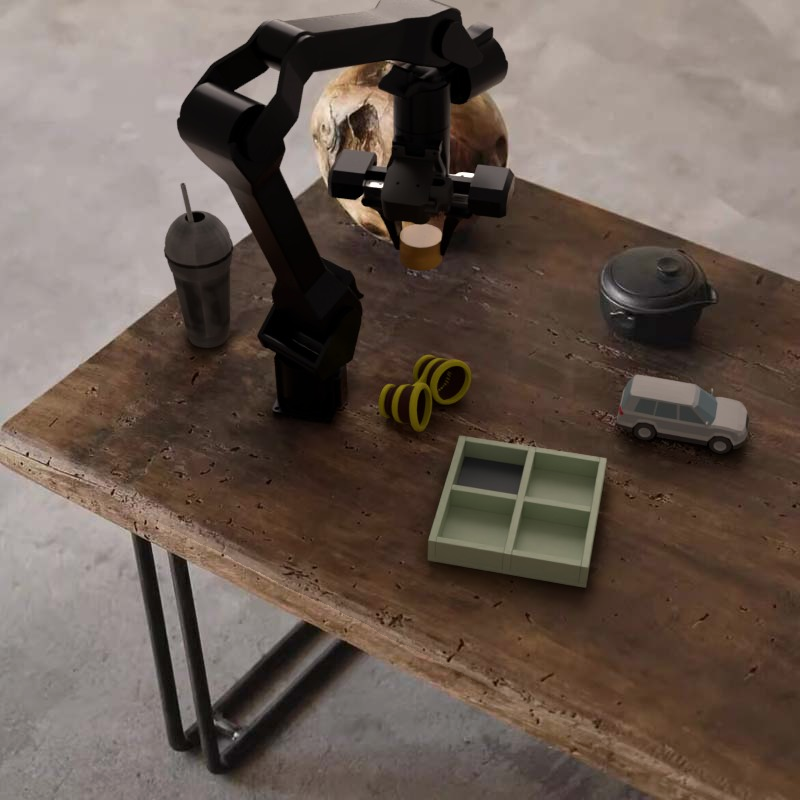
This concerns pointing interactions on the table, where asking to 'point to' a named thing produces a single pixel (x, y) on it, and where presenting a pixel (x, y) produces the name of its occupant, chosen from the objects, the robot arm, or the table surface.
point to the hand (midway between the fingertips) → (420, 250)
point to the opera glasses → (425, 391)
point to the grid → (519, 511)
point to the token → (420, 247)
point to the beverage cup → (201, 273)
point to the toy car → (682, 414)
